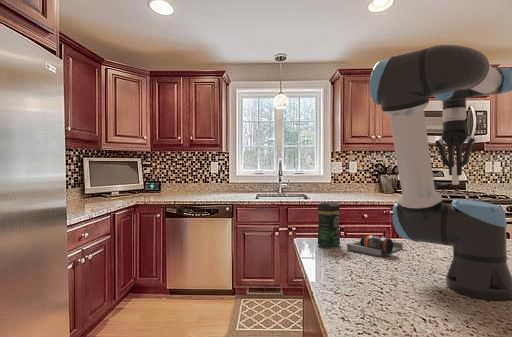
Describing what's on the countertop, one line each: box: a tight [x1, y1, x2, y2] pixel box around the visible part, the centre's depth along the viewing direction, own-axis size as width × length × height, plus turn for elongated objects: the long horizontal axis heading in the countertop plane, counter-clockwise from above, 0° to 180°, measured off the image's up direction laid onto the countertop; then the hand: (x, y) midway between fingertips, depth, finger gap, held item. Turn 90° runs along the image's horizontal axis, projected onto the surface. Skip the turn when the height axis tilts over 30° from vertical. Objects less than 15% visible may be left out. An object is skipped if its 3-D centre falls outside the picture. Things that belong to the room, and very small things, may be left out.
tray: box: [346, 240, 404, 258], centre depth 128 cm, size 18×14×2 cm
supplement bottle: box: [359, 234, 393, 255], centre depth 123 cm, size 6×6×11 cm
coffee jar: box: [317, 201, 341, 249], centre depth 136 cm, size 10×8×19 cm
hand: (455, 184), depth 118 cm, fingers closed
